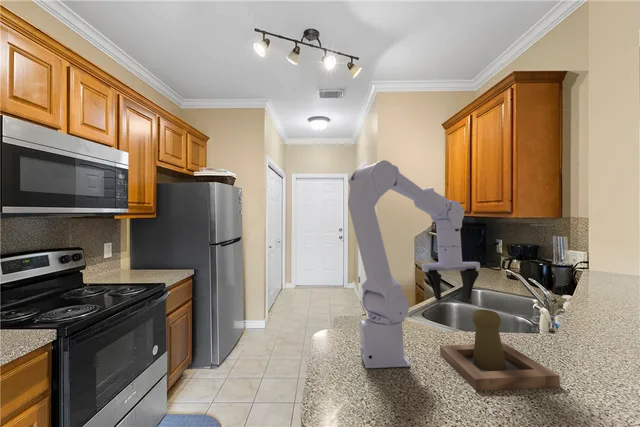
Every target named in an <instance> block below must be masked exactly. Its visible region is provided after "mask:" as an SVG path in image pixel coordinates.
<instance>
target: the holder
mask: <svg viewBox="0 0 640 427" xmlns="http://www.w3.org/2000/svg"><path fill="white" fill-rule="evenodd" d="M474 344H475V343H473V344H451V345H439V355H440V356H441V357H442V358H443V359H444V361H446V362H447V363H448V364H449V365H450V366H451V367H452V368H453V369H454V370H455V371H456V372H457V373H458V374H459V375H460V376H461V377H462V378H463V379H464V380H465V382H467V383H468V384H469V385H470V386H471V388H473V389H474V390H475V391H477V392H478V391H481V390H482V391H499V390H500V391H501V390H502V391H503V390H506V391H507V390H522V389H523V390H524V389H526V390H527V389H549V388H551V389H552V388H561V381H560V375H559V374H558V373H556V372H554V371H552V370H551V369H549V368H547V367H546V366H544V365H542V364H541V363H539V362H537V361H536V360H534V359H533V358H530V357H529V356H527V355H525V354H524V353H522V352H521V351H519V350H517V349H516V348H514V347H512V346H510V345H509V344H507V343H505V342H501V344H502V348H503V353H504V357H505V362H506V367H507V368H506V370H504V371H488V370H484V369H481V368H479V367H477V366H476V365H474V363H473V357H474Z"/></svg>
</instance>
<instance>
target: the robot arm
mask: <svg viewBox="0 0 640 427" xmlns="http://www.w3.org/2000/svg"><path fill="white" fill-rule="evenodd" d="M347 182H348V185H349V193H348V199H347V205H348V211H349V215H350V217H351V222H352V226H353V230H354V234H355V237H356V241H357V245H358V250H359V253H360V257H361V262H362V265H363V270H364V273H365V274H364V275H365V278H366V280H365V281H363V283H362V285H361V289H362V297H361V302H362V307H363V308H364V310H365V311H366V312H367V317H368V318H366V319H361V320H360V321H359V340H360V346H359V349H360V356H361V359H362V361H363V363H364V366H365V367H364V368H366V369H380V368H381V369H382V368H401V367H402V368H404V367H411V363H410V361H409V359H407V357H406V355H405V354H404V352H405V351H404V350H405V349H404V334H403V333H404V332H403V323H404V322H405V319H406V318H407V316H408V314H409V310H410V302H409V299H408V297H407V295H406V294H405V293H404V291H403V289H402V288H403V287H402V284H401V283H400V282H399V281H398V280H397V279H396V278H395V277H394V276H393V275H392V273H391V269H390V264H389V261H388V258H387V253H386V248H385V245H384V241H383V236H382V232H381V229H380V225H379V220H378V216H377V212H376V208H375V207H376V205H377V203H378V202H379V200H380V198H382V197H383V196H384V195H385V194H387V192H388V191H389V190H392V191H394V192H396V193H397V194H399V195H401V196H403V197H406V198H408V199H410V200H412V201H413V204H414V206H415V208H417V209H419V210H420V211H422V212H425V213H426V214H427V215H429V216H430V218H431V221H433V223H435V224H436V225H435V227H436V239H437V240H436V243H437V257H438V258H437V259H438V262H429V263H421V272H424V274H425V277H426V278H427V280H428V281H429V284H430V285H431V288H432V292H433V295H434V298H435V300H437V301H442V291H441V281H442V274H441V273H439V272H447V271H448V272H449V271H452V272H453V271H459V272H460V276H461V282H462V292H463V293H462V295H463V297H464V299H467V300H470V299H471V298H472V291H473V288H474V285H475V283H476V281H477V278H478V277H479V271H480V270H481V263H480V262H479V261H463V255H462V254H463V253H462V239H461V238H462V236H461V229H462V227H463V219H464V217H465V210H464V209H463V205H462V204H461V203H460V202H459V201H457V200H449V199H448V198H447V197H446V196H444V195H442V194H439V193H438V192H436V191H435V188H433V187H431V186H430V187H423V188H422V187H420V186H418V184H416V183H415V182H413V181H412V180H410V179H409V178H408V177H406V176H405V175H404V174H402V173H401V172H400V170H399V167H398V166H397V165H394V164H393V163H391V162H390V161H389V160H379V161H377V162H376V163H372V164H370V165H368V166H364V167H361V168H360V167H359V168H357V169H355V170H354V172H353V173H352V174H351V176H350V177H349V179H348V181H347Z"/></svg>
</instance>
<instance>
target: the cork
mask: <svg viewBox="0 0 640 427" xmlns="http://www.w3.org/2000/svg"><path fill="white" fill-rule="evenodd" d="M471 316H472V317H471V318H472V322H473V324H474V325H475V334H474V343H473V344H474V357H473V363H474V365H476V366H477V367H479V368H481V369H484V370H488V371H504V370H506V368H507V367H506V362H505V357H504V353H503V348H502V344H501V343H502V339H501V335H500V331H499V328H500V327H501V323H502V321H501V316H500V315H499V313H497V312H496V311H495V310H494V311H493V310H491V309H490V310H489V309H476V310H474V311H473V313H472V315H471Z"/></svg>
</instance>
